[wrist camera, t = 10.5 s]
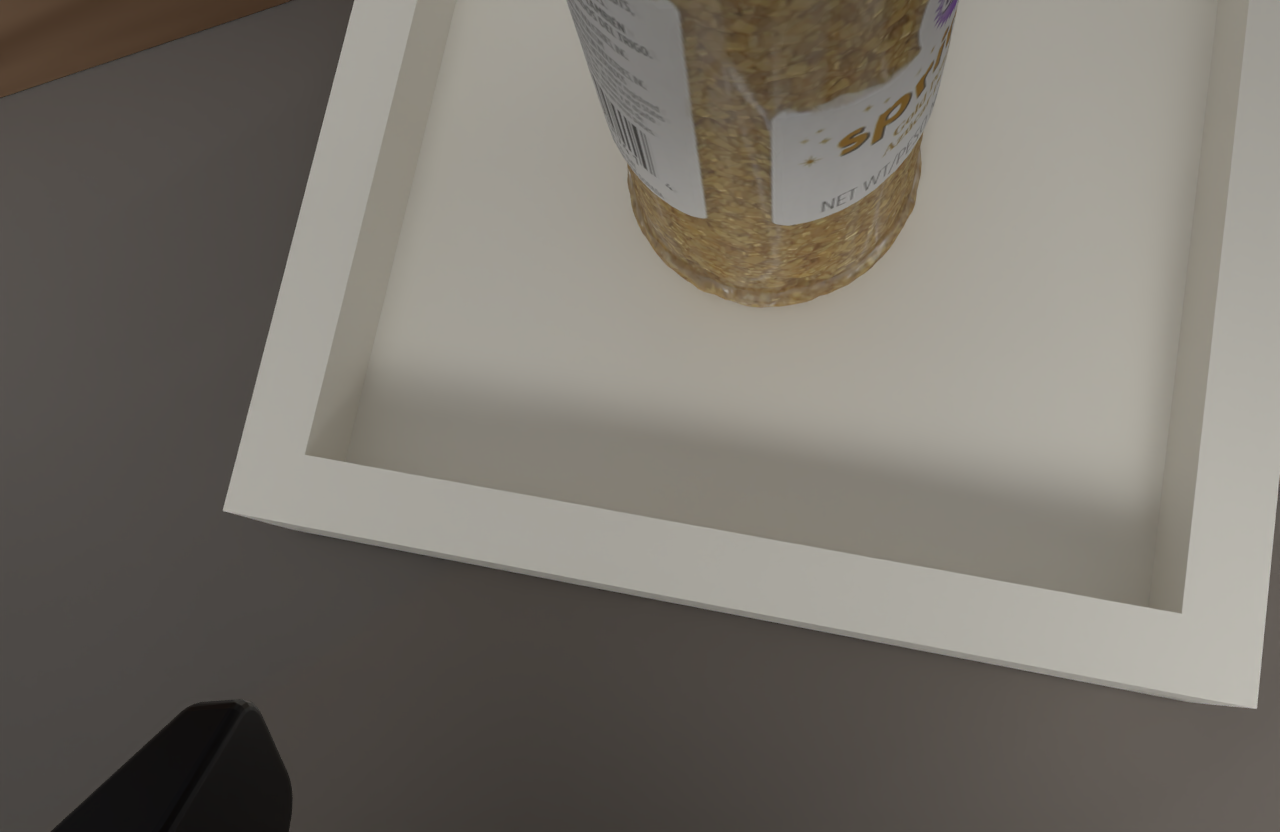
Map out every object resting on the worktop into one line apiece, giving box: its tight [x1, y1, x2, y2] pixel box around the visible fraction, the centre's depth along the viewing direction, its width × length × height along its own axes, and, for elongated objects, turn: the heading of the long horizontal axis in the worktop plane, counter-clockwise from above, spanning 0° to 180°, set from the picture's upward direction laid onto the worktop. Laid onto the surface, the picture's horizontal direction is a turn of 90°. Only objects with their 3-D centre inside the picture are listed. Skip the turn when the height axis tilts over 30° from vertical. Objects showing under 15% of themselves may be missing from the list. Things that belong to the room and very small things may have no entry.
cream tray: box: [223, 0, 1280, 709], centre depth 18 cm, size 14×14×2 cm
